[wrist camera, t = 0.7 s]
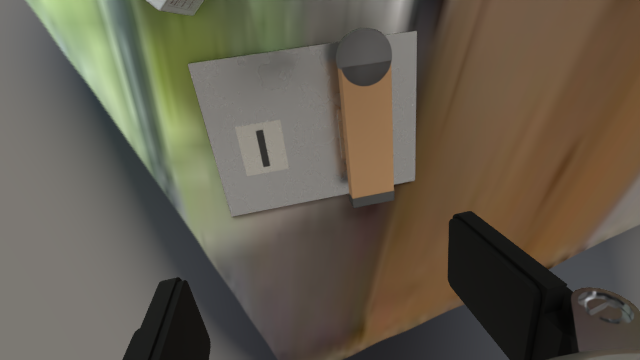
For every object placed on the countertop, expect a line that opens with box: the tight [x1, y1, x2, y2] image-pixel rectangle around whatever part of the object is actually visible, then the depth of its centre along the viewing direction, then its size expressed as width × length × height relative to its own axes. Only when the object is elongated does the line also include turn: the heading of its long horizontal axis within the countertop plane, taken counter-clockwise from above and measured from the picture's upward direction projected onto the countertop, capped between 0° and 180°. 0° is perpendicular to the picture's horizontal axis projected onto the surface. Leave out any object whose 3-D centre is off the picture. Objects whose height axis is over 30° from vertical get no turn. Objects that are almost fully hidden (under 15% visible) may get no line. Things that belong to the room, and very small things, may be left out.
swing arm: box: [336, 28, 394, 208], centre depth 34 cm, size 19×5×2 cm, turn 7°
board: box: [188, 31, 417, 216], centre depth 36 cm, size 18×24×3 cm
